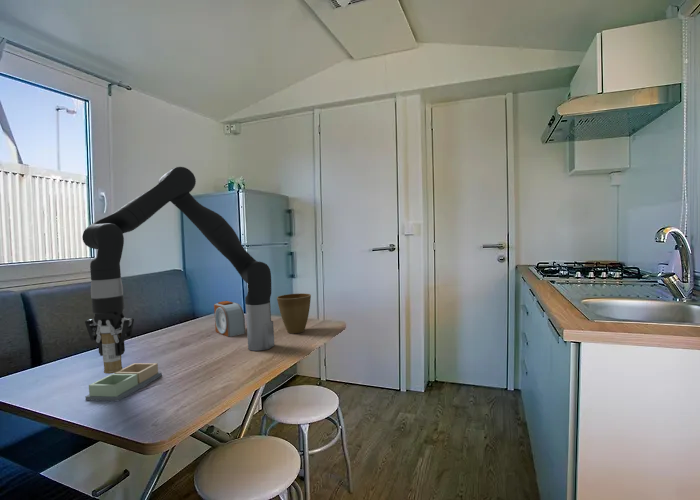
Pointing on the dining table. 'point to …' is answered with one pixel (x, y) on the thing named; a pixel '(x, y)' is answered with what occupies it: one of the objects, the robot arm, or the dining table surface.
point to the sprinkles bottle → (110, 351)
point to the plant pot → (294, 311)
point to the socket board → (123, 382)
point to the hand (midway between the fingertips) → (111, 354)
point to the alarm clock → (229, 318)
